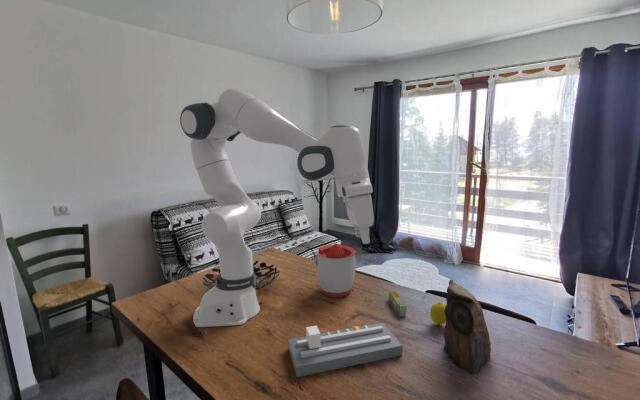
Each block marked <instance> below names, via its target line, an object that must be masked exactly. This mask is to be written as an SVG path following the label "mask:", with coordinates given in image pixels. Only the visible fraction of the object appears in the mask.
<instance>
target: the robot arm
mask: <svg viewBox="0 0 640 400" xmlns="http://www.w3.org/2000/svg"><path fill="white" fill-rule="evenodd" d="M179 122H180V127H181V129H182V131H183V133H184V134H185V135H186V136H187V137H188V138H190V139H191V141H190V151H191V156H192V160H193V164H194V166H195V169H196V172H197V175H198V177H199V180H200V182H201V185H202V187H203V190H204V192H205V193H206V194H207V195H209V196H210V197H212V198H213V199H214V200H215V201H216V202H217V203H218V205H219V207H216V208H214V209H213V210H211V211H209V212H208V213H207V214H206V215H205V216H204V217H203V218H202V221H201V230H202V232H203V233H202V234H203V235H204V237H205V238H206V239H207V240H208V241H210V242H212V243H213V244H214V246H215V248H216V251H217V255H218V259H219V269H220V270H219V271H220V272H215V273H214V274H213V279H214V286H213V287H212V288H211V289H208V290H207V292H205V293H204V294H203V296H202V298H201V299H200V303H199V306H197V308H196V309H195V310H194V312H193V316H192V322H194V323H193V325H194V324H195V325H194V326H195V327H197V328H206V327H210V328H211V327H225V326H226V327H227V326H241V325H244V324H245V323H246V322H247V321H248V320H250V319H251V318H254V317H255V316H257V314H258V313H259V312H260V310H261V307H260V305H259V302H258V298H257V293H256V274H255V270H254V260H253V251H252V249H251V248H250V247H249V246H248V245H247V244H246V242H245V238H244V234H245V233H246V232H248V231H250V230H252V229H253V228H254V227H255V226H257V224H258V223H259V221H260V220H261V218H262V210H261V208H260V206H259V204H258V203H256V202H255V201H253V200H252V199H251V198H250V197H249V196H248V195H247V192H245V190H244V189H243V187H242V186H241V184H240V182H239V181H238V178H237V176H236V174H235V172H234V169H233V167H232V163H231V161H230V158H229V155H228V154H227V150H226V146H225V145H226V142H233V141H234V140H235V138H236V137H238V136H239V135H240V134H242V135H244V136H246V137H247V138H250V140H251V139H252V140H254V141H256V142H259V143H267V144H274V145H280V146H285V147H288V148H291V149H293V150H294V151H296V152H297V153H298V156H297V161H296V164H297V165H296V166H297V169H298V172H299V173H300V175H301V176H302V177H303V178H304V179H306V180H308V181H312V182H319V181H320V182H321V181H326V180H334V181H335V182H334V183H335V189H336V193H337V194H336V195H337V197H338V198H341V197H342V199H343V201H342V202H343V203H345V208H346V214H347V218H348V220H349V221H351V222H352V224H353V229H354V232H355V236H356V237H357V238H360V239H361V242H362V244H363V245H367V244H370V242H371V239H370V227H373V225H374V222H375V221H374V220H375V219H374V218H375V217H374V208H373V199H372V195H371V194H372V193H373V192H374V190H373V185H372V183H371V179H370V173H369V169H368V168H367V164H366V158H367V157H366V152H365V151H366V149H365V147H364V146H365V145H364V141H363V138H362V135H361V132H360V130H359V128H357V127H355V126H353V125H348V124H346V125H345V124H344V125H343V124H339V125H334V126H330V127H329V128H328V129H327V131H326V132H325V133H324V134H323V135H322V136H321V137H320V138H319V139H318V138H317V137H315V136H313V135H312V134H310V133H308V132H307V131H304V130H303V129H301V128H300V127H299V126H298V127H297V126H296V125H295V124H293V123H292V122H291V121H290V120H288V119H287V118H285V117H284V116H282V115H281V114H280V113H279V112H277V111H276V110H275V109H274V108H273V107H271V106H269V105H268V104H267V103H265V102H264V101H263V100H261V99H259V98H257V96H254V95H252V94H251V93H249V92H246V91H244V90H241V89H238V88H235V87H233V88H232V87H230V88H227V89H226V90H224V91H223V92H222V93H221V94H220V95H219V98H218V100H217V102H214V101H213V102H196V103H193V104H188V105H186V106H185V107H184V108H183V109H182V110H181V113H180V118H179Z"/></svg>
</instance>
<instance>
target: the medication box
mask: <svg viewBox="0 0 640 400" xmlns="http://www.w3.org/2000/svg"><path fill="white" fill-rule="evenodd" d="M388 302H389V304H390V306H391V307H392V308H393V310H394V311H395V313H396V315H397V316H398V317H406V316H407V304H406V303H405V302H404V300H403V299H402V298H401V296H400V295H399V294H398V292H397V291H396V290H389V291H388Z"/></svg>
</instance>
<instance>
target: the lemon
mask: <svg viewBox="0 0 640 400" xmlns="http://www.w3.org/2000/svg"><path fill="white" fill-rule="evenodd" d="M445 307H446V304H444V303H443V302H441V301H438V302H435V303H433V304H432V305H431V307H430V312H429V316H430V319H431V321H432V322H433V323H434V324H436V326H441V325H442V326H443V325H446V316H445V312H444V310H445Z"/></svg>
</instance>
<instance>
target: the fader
mask: <svg viewBox="0 0 640 400" xmlns="http://www.w3.org/2000/svg"><path fill="white" fill-rule="evenodd" d="M305 333H306V334H305V335H306V340H307V346H308V349H309V350H313V349H318V348H320V347H321V337H320V334H321V332H320V330H319V328H318V326H317V325H316V324H315V325H313V326H312V325H311V326H306V327H305Z"/></svg>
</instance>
